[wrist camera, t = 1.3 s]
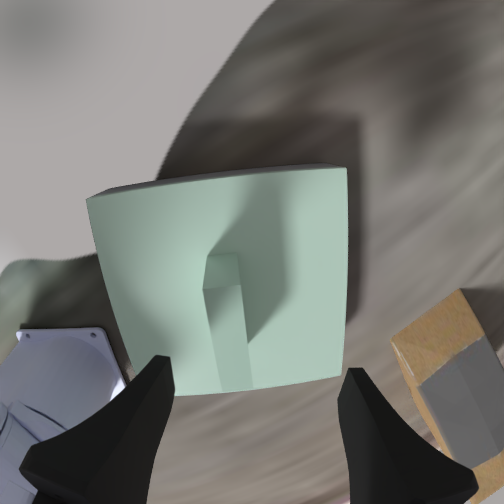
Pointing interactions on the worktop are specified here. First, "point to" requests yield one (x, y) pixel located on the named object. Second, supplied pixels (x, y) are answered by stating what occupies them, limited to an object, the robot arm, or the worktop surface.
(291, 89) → the worktop surface
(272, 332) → the lid
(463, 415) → the sandwich container
